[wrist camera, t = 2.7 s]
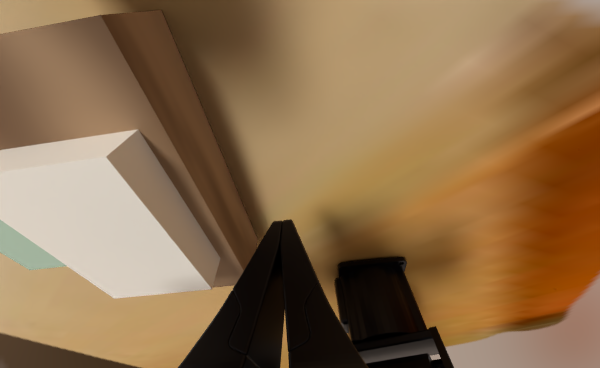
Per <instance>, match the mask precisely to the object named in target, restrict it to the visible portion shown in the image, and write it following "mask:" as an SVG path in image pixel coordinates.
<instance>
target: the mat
mask: <svg viewBox="0 0 600 368" xmlns="http://www.w3.org/2000/svg"><path fill="white" fill-rule="evenodd" d="M0 253H2V254H4V255H5V256H7V257H9V258H10V259H12V260H14V261H15V262H17V263H19V264H20V265H22V266H24V267H25V268H27V269H29V270H36V269H45V268H54V267H63V266H66V265H65V264H64V263H62V262H61V261H59V260H58V259H56V258H55V257H53V256H52V255H51V254H49V253H48V252H46V251H45V250H43V249H42V248H40V247H39V246H38V245H36V244H35V243H33V242H32V241H30V240H29V239H27V238H26V237H25V236H23V235H22V234H20V233H19V232H17V231H16V230H14V229H13V228H12V227H10V226H9V225H7V224H6V223H4V222H3V221H1V220H0Z"/></svg>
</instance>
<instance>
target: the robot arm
mask: <svg viewBox="0 0 600 368" xmlns="http://www.w3.org/2000/svg"><path fill="white" fill-rule="evenodd" d="M406 264H407V262H406V260H405V258H404V257H396V258H386V259H376V260H366V261H356V262H346V263H340V264H339V265H338V277H339V278H336V279H335V291H336V298H337V305H338V312H339V319H340V321H339V320H338V318H337V316H336V315H335V313H334V311H333V309H332V308H331V306H330V304H329V302H328V300H327V298H326V296H325V294H324V292H323V289H322V287H321V285H320V283H319V280H318V278H317V276H316V273H315V271H314V269H313V267H312V264H311V262H310V260H309V257H308V255H307V253H306V251H305V248H304V246H303V244H302V241H301V239H300V237H299V235H298V232H297V230H296V228H295V225H294V223H293V221H292V220H291V219H290V220H284V221H274V222H273V223H272V224H271V226H270V228H269V229H268V231H267V233H266V234H265V236H264V238H263V239H262V241H261V243H260V244H259V246H258V248H257V249H256V251H255V253H254V254H253V256H252V258H251V259H250V261H249V263H248V264H247V266H246V268H245V269H244V271H243V273H242V275H241V276H240V278H239V280H238V281H237V283H236V285H235V286H234V288H233V291H231V293H230V294H229V296H228V298H227V299H226V301H225V303H224V304H223V306H222V307H221V309H220V311H219V312H218V314H217V315H216V316H215V318H214V319H213V321H212V322H211V323H210V325H209V326H208V328H207V329H206V330H205V332H204V333H203V335H202V336H201V337H200V339H199V340H198V341H197V343H196V344H195V345H194V347H193V348H192V350H191V351H190V352H189V354H188V355H187V356H186V358H185V359H184V360H183V362H182V363H181V364H180V366H179V367H178V368H280V362H281V349H282V337H283V324H284V312H285V317H286V330H287V343H288V352H289V353H288V356H289V368H454V367H453V364H452V362H451V360H450V358H449V355H448V353H447V351H446V348H445V346H444V344H443V341H442V339H441V337H440V335H439V333H438V330H437V328H436V326H435V327H430V328H429V329H427V328H426V325H425V323H424V320H423V318H422V315H421V313H420V310H419V308H418V305H417V303H416V301H415V298H414V296H413V293H412V291H411V288H410V286H409V283H408V281H407V278H406V276H405V273H404V271H405V267H406ZM347 333H348V335H347ZM435 354H439V355H440V357H441V359H437V360H431V358H430V356H429V355H435Z"/></svg>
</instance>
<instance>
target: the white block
mask: <svg viewBox="0 0 600 368" xmlns="http://www.w3.org/2000/svg"><path fill="white" fill-rule="evenodd" d="M0 220H1V221H3V222H4V223H6V224H7V225H9V226H10V227H12V228H13V229H14V230H16V231H17V232H19V233H20V234H22V235H23V236H25V237H26V238H27V239H29V240H30V241H32V242H33V243H35V244H36V245H38V246H39V247H40V248H42V249H43V250H45V251H46V252H48V253H49V254H51V255H52V256H53V257H55V258H56V259H58V260H59V261H61V262H62V263H64V264H65V265H66V266H68V267H69V268H71V269H72V270H74V271H75V272H77V273H78V274H79V275H81V276H82V277H84V278H85V279H87V280H88V281H90V282H91V283H92V284H94V285H95V286H97V287H98V288H100V289H101V290H103V291H104V292H105V293H107V294H108V295H110V296H111V297H113V298H125V297H135V296H145V295H156V294H166V293H177V292H187V291H198V290H208V289H212V287H213V284H214V280H215V276H216V273H217V269H218V266H219V262H220V257H219V255H218V253H217V252H216V250H215V249H214V247H213V246H212V244H211V243H210V241H209V239H208V238H207V236H206V235H205V233H204V232H203V230H202V228H201V227H200V225H199V224H198V222H197V221H196V219H195V217H194V216H193V214H192V213H191V211H190V210H189V208H188V207H187V205H186V203H185V202H184V200H183V199H182V197H181V196H180V194H179V192H178V191H177V189H176V188H175V186H174V185H173V183H172V181H171V180H170V178H169V177H168V175H167V174H166V172H165V171H164V169H163V167H162V166H161V164H160V163H159V161H158V160H157V158H156V156H155V155H154V153H153V152H152V150H151V149H150V147H149V145H148V144H147V142H146V141H145V139H144V138H143V136H142V135H141V133H140V131H139V130H138V129H137V130H131V131H124V132H117V133H111V134H104V135H97V136H91V137H84V138H77V139H71V140H64V141H58V142H51V143H44V144H38V145H31V146H24V147H18V148H11V149H4V150H0Z"/></svg>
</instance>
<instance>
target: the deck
mask: <svg viewBox="0 0 600 368" xmlns="http://www.w3.org/2000/svg"><path fill="white" fill-rule="evenodd" d="M137 129H138V130H139V131H140V133H141V135H142V136H143V138H144V139H145V141H146V142H147V144H148V145H149V147H150V149H151V150H152V152H153V153H154V155H155V156H156V158H157V160H158V161H159V163H160V164H161V166H162V167H163V169H164V171H165V172H166V174H167V175H168V177H169V178H170V180H171V181H172V183H173V185H174V186H175V188H176V189H177V191H178V192H179V194H180V196H181V197H182V199H183V200H184V202H185V203H186V205H187V207H188V208H189V210H190V211H191V213H192V214H193V216H194V217H195V219H196V221H197V222H198V224H199V225H200V227H201V228H202V230H203V232H204V233H205V235H206V236H207V238H208V239H209V241H210V243H211V244H212V246H213V247H214V249H215V250H216V252H217V253H218V255H219V257H220V262H219V266H218V269H217V273H216V276H215V280H214V284H213V287H222V286H232V285H236V283H237V281H238V280H239V278H240V276H241V275H242V273H243V271H244V269H245V268H246V266H247V264H248V263H249V261H250V259H251V258H252V256H253V254H254V253H255V251H256V245H257V237H256V235H255V232H254V230H253V227H252V225H251V223H250V220H249V218H248V215H247V213H246V211H245V208H244V206H243V203H242V201H241V199H240V196H239V194H238V192H237V189H236V187H235V184H234V182H233V180H232V177H231V175H230V172H229V170H228V168H227V165H226V163H225V161H224V158H223V156H222V153H221V151H220V149H219V146H218V144H217V141H216V139H215V137H214V134H213V132H212V130H211V127H210V125H209V122H208V120H207V118H206V115H205V113H204V110H203V108H202V106H201V103H200V101H199V98H198V96H197V94H196V91H195V89H194V87H193V84H192V82H191V79H190V77H189V75H188V72H187V70H186V67H185V65H184V63H183V60H182V58H181V56H180V53H179V51H178V48H177V46H176V44H175V41H174V39H173V36H172V34H171V32H170V29H169V27H168V25H167V22H166V20H165V17H164V15H163V13H162V10H155V11H143V12H132V13H120V14H108V15H99V16H94V17H88V18H83V19H78V20H72V21H67V22H62V23H57V24H51V25H46V26H41V27H36V28H30V29H25V30H20V31H14V32H9V33H4V34H0V150H4V149H11V148H18V147H24V146H31V145H38V144H44V143H51V142H58V141H64V140H71V139H77V138H84V137H91V136H97V135H104V134H111V133H117V132H124V131H131V130H137Z"/></svg>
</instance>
